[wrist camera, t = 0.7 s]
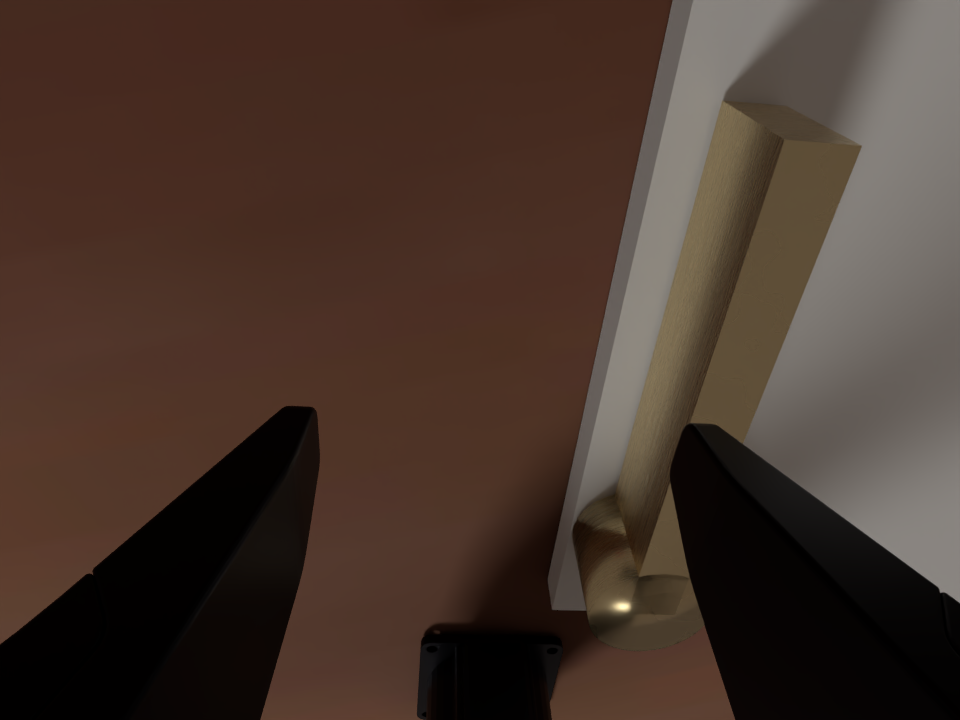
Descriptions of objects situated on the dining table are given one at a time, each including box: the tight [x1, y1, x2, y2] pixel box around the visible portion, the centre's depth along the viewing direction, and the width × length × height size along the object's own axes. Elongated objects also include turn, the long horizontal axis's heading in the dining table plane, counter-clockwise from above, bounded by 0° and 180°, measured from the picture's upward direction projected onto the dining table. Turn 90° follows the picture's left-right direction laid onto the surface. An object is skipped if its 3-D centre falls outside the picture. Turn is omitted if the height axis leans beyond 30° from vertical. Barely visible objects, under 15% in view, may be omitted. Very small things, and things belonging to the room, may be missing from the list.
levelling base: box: [547, 0, 960, 611], centre depth 21 cm, size 24×18×3 cm
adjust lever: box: [572, 100, 862, 651], centre depth 19 cm, size 17×4×4 cm, turn 175°
